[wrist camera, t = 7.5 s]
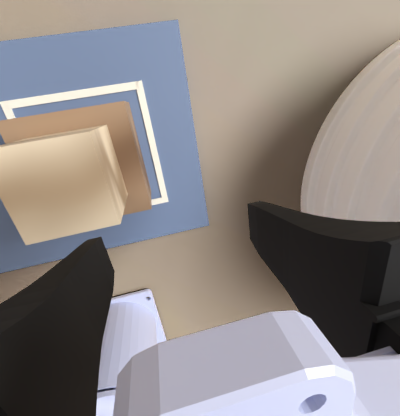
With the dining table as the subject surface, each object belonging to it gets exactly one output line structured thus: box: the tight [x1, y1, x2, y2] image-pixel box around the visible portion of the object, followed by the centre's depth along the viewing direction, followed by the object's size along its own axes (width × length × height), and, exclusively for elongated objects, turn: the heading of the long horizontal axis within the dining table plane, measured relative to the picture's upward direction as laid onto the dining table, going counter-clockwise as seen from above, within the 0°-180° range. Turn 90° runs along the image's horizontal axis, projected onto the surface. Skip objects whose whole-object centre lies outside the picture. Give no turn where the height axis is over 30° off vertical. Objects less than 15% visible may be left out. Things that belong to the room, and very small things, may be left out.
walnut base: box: [0, 101, 152, 215], centre depth 17 cm, size 7×7×4 cm
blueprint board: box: [0, 20, 209, 273], centre depth 18 cm, size 16×28×1 cm, turn 99°
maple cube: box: [0, 125, 128, 245], centre depth 13 cm, size 4×4×4 cm
